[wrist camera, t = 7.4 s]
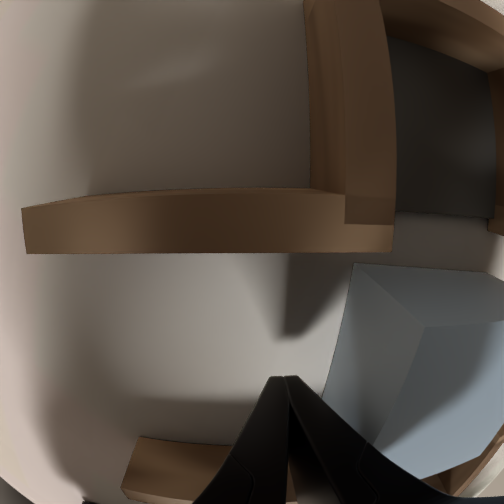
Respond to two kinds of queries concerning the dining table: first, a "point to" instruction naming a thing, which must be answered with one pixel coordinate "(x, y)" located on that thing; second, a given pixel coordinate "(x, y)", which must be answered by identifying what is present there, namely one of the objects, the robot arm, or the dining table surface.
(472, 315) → the blue-grey block
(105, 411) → the dining table surface
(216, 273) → the dining table surface
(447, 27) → the box
